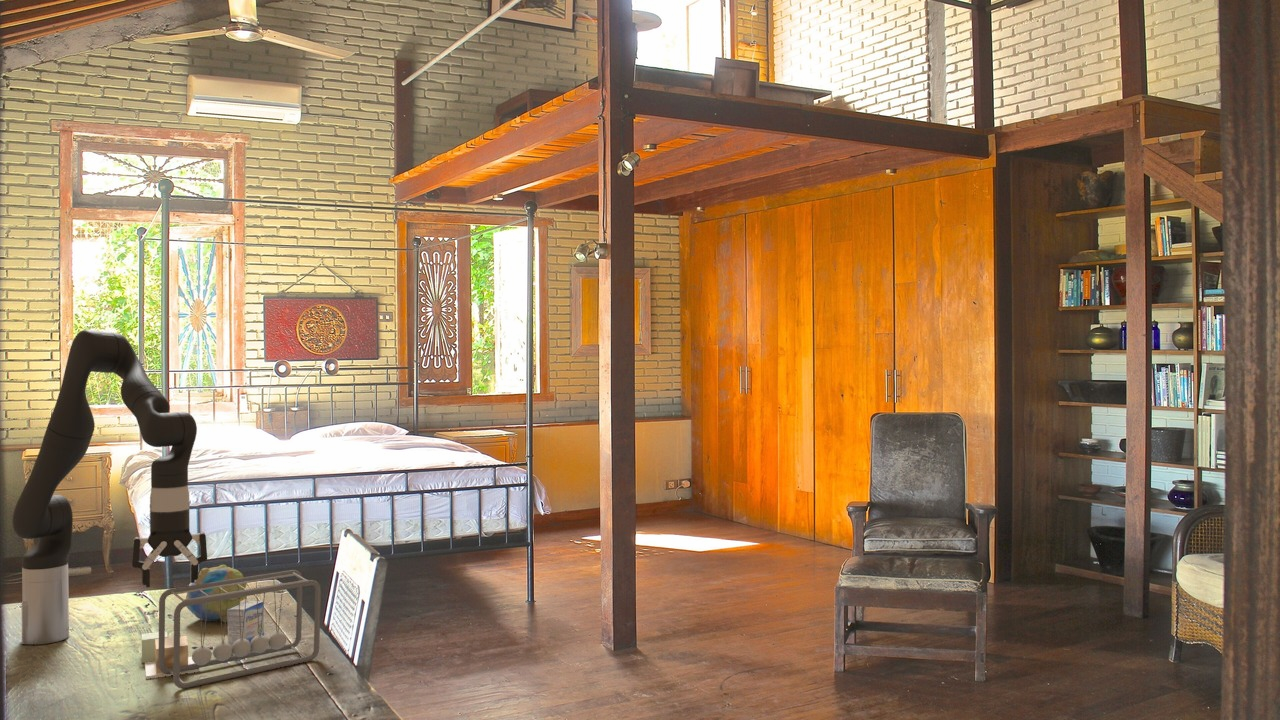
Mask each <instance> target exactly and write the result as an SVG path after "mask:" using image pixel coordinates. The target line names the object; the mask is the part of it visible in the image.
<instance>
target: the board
mask: <svg viewBox="0 0 1280 720" xmlns="http://www.w3.org/2000/svg"><path fill="white" fill-rule="evenodd" d="M189 664H194V662H193V660H192V656H188V665H189ZM144 670H145V679H146V680H151V679H157V678H158V677H159V678H165V676H166V677H172V676H171V675H173V674H165V673H156V665H155V661H152V662H145V663H144ZM194 672H195V673H200V668H197V669H192V670H187V671H182V672H180V674H181V675H186V674H185V673H188V674H194ZM150 678H151V679H150ZM159 678H158V679H159Z"/></svg>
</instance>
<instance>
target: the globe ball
mask: <svg viewBox="0 0 1280 720" xmlns="http://www.w3.org/2000/svg"><path fill="white" fill-rule="evenodd" d="M237 578H244V575H243V573H242V572H240V571H239V570H238V569H236V568H233V567H230V566H227V564H220V565H219V566H213V567H209V568H208V567H203V568H201V569H200V571H199V572H198V579H197V580H195V583H191V582H190V583H189V584H188V586H192V585H198V584H205V583H211V582H218V581H224V580H231V579H237ZM239 585H240V586H239V591H240V590H246V587H247V585H248V583H245V584H239ZM241 586H242V587H243V588H242V587H241ZM221 588H222V589H223V590H222V589H221ZM244 588H245V589H244ZM224 590H225V591H226V592H225V591H224ZM202 591H203V592H204V593H203V592H202ZM234 591H238V585H232V586H226V587H220V594H222V593H227V592H234ZM206 594H207V595H208V596H209V595H215V594H219V588H213V589H207V590H201V597H203V596H207V595H206ZM197 597H200V591H194V592H188V593H186V596H185V599H191V598H197ZM244 600H247V598H246V596H244V597H239V600H238V598H232V599H228V604H227V599H226V600H221V614H220V601H214V602H209V603H202V604H201V612H200V604H196V605H190V606H185V608H186V609H188V610H189V612H190V613H191V614H193V615H194V616H195V617H196V618H197V619H199V620H200V621H201V620H202V621H204V622H205V621H206V622H217V621H218V620H219V621H220V622H221V618H222V623H224V624H225V617H226V622H227V623H228V619H227V615H226V606H227V610H228V609H231V608H233V607H235V606H238V605H239V604H241V601H244ZM207 604H208V611H207ZM206 612H207V619H206Z"/></svg>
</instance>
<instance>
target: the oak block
mask: <svg viewBox="0 0 1280 720" xmlns="http://www.w3.org/2000/svg"><path fill="white" fill-rule="evenodd" d="M158 653H159V639H155V665H156V673H163V672H161V671H160V669H159V666H158ZM173 657H174V636H169V637H168V638H165V657H164V665H165V667H166V668H173ZM188 657H189V643H188V638H187V636H186V635H180V666H184V665H188Z"/></svg>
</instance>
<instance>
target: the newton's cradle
mask: <svg viewBox="0 0 1280 720" xmlns="http://www.w3.org/2000/svg"><path fill="white" fill-rule="evenodd" d="M294 576H295V577H296V581H290V582H289V581H288V582H280V581H279V580H277V579H281V578H282V579H283V578H287V577H294ZM243 577H244V576H243ZM269 580H273V581H277V582H278V584H276V583H273V585H263V584H261V583H259V582H262V581H269ZM245 583H247V584H250V583H255V587H253V588H248V589H246V587H245V588H244V589H245V590H240V591H239V586H240V585H239V584H245ZM258 584H260V585H261V586H260V587H258ZM232 585H238V591H234V592H227V593H222V594H220V587H226V586H232ZM308 586H313V587H314V589H315V591H314V624H313V625H314V628H313V629H314V630H313V631H314V633H313V636H314V637H313V652H312V653H311V654H310V655H305V654H304V653H303V652H301V651H300V650H299V649H297V648H296V647H298V645H299V644H300V643H301V640H302V628H303V625H302V623H303V621H302V618H303V617H302V616H303V587H304V588H305V587H308ZM241 587H242V586H241ZM213 588H219V594H215V595H209V596H208V595H207V594H206V595H207V596H203V597H201V590H207V589H213ZM242 588H243V587H242ZM221 589H222V588H221ZM291 589H296V615H295V616H296V617H295V618H296V619H295V620H296V623H295V627H296V628H295V640H293V642H292V643H288V644H286V643H287V636H286V635H285V633H284V632H282V631H280V624H278V623H280V622H281V621H280V620H281V613H282V612H281V611H282V604H283V603H282V602H283V601H282V600H283V592H284V590H285V591H286V590H291ZM321 589H322V588H321V585H320V583H319V582H318V581H317V580H313V579H306V578H304V577H303V575H302V573H301V572H300V571H298V570H296V569H290V570H283V571H277V572H270V573H263V574H256V575H251V576H245V577H244V578H237V579H231V580H224V581H218V582H211V583H205V584H198V585H192V586H189V585H187V586H179V587H173V588H169V589H166V590H165V591H164V592H162V593H161V595H160V596H159V601H158V632H159V653H158V666H159V669H160V671H161V672H163V673H165V674H173V677H172V680H173V684H174V685H175V687H177V688H178V689H189V688H193V687H199V686H203V685H208V684H211V683H216V682H221V681H226V680H230V679H235V678H236V679H237V678H240V677H243V676H249V675H253V674H258V673H261V672H262V673H263V672H267V670H268V671H271V670H277V669H280V667H281V668H284V667H285V666H286V667H289V666H295V665H298V663H300V664H304V663H307V662H308V661H309V662H312V661H313V660H315V659H316V658H317V657H318V655H319V653H320V643H321V642H320V640H321V639H320V636H321V634H320V633H321V596H322V595H321V594H322V593H321ZM222 590H223V589H222ZM194 591H200V597H197V598H191V599H186V598H185V599H184V598H183V597H181V596H180V595H181V594H187V593H188V592H194ZM224 591H225V590H224ZM279 591H281V597H280V598H281V599H280V608H279V617H278V618H275V626H276V627H275V628H276V629H275V631H274V632H272V633H271V634H270V635H269V637H267V636H265V635H264V636H263V635H261V631H260V634H259V635H258V636H255V637H254V638H253V639H252V640H251V643H250V642H249V641H248V640H246V639H243V632H242V638H241V623H240V639H238V640H236V641H235V642H234V643H233V645H232V647H231V645H230V644H229V643H228V642H227V641H226V642H225V636H226V635H225V634H226V626H227V623H226V617H225V623H224V630H223V624H222V623H223V621H222V618H221V621H220V629H221V631H220V632H221V635H223V636H221V642H219V643H217V644H216V645H215V646H214V648H213V650H212V651H211V649H210V648H209V647H208V646H204V643H205V635H206V628H207V627H206V626H207V621H204V623H205V624H204V630H203V629H202V626H203V625H202V624H203V623H202V621H203V620H201V619H200V646H198V647H196V648H195V649H194V650H193V651H192V654H191V657H192V660H193V662H194V664H189V665H184V666H180V636H181V612H182V610H183V609H184V608H186V606H190V605H196V604H200V612H201V604H202V603H209V602H214V601H220V614H221V600H226V599H227V604H228V599H232V598H238V600H239V597H244V596H246V599H244V600H245V601H244V603H245V609H246V602H247V598H248V597H249V596H255V595H256V596H257V595H261V594H263V601H262V602H263V608H265V597H266V595H265V594H267V593H272V592H273V593H274V594H273V596H274V598H276V592H279ZM202 592H203V591H202ZM225 592H226V591H225ZM203 593H204V592H203ZM170 595H173V596H175V597H176V598H178V599H179V600H180V601H181V602H180V603H178V604H177V605H176V607H175V608H174V611H173V637H174V657H173V668H166V667H165V665H164V657H165V630H166V600H167V598H168V597H169V596H170ZM256 601H257V613H258V601H259V600H258V597H256ZM276 603H277V602H276V600H274V610H275V611H274V615H275V616H277V606H276V605H277V604H276ZM240 604H241V603H240ZM240 604H239V619H240ZM207 611H208V604H207ZM226 615H227V606H226ZM262 618H263V610H262ZM206 619H207V612H206ZM244 619H245V611H244ZM277 619H278V623H277ZM261 628H262V620H261ZM243 630H244V621H243ZM258 631H259V617H258ZM288 650H294V651H295V652H296V653H298V654H300V655H301V656H302V657H298V658H294V659H293V658H292V659H289V660H284V661H279V662H275V663H271V664H265V665H261V666H256V667H252V668H247V669H243V670H238V671H233V672H229V673H224V674H219V675H216V676H211V677H210V676H209V677H205V678H200V679H196V680H191V681H187V682H184V681H183V680H182V679H181V678H180V672H182V671H187V670H192V669H197V668H199V669H201V668H205V667H210V666H215V665H220V664H225V663H229V662H235V661H239V660H244V659H249V658H254V657H255V658H256V657H259V656H263V655H268V654H273V653H278V652H283V651H288ZM232 654H233V655H232ZM212 656H213V657H214V659H212ZM303 662H304V663H303ZM309 662H308V663H309ZM294 664H295V665H294ZM286 667H285V668H286ZM276 668H277V669H276Z"/></svg>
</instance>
